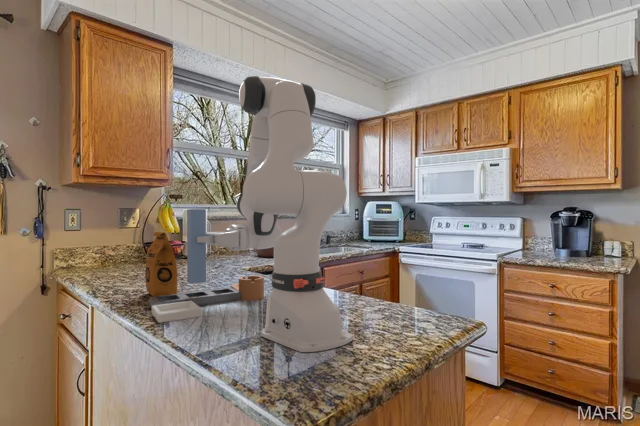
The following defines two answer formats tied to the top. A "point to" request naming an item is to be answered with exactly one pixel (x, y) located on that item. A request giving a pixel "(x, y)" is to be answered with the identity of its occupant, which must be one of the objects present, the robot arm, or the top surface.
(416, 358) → the top surface
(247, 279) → the bracket
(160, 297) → the rail
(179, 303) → the tray
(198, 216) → the blue-grey rectangular block
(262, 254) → the wooden bowl
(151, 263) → the coffee package
